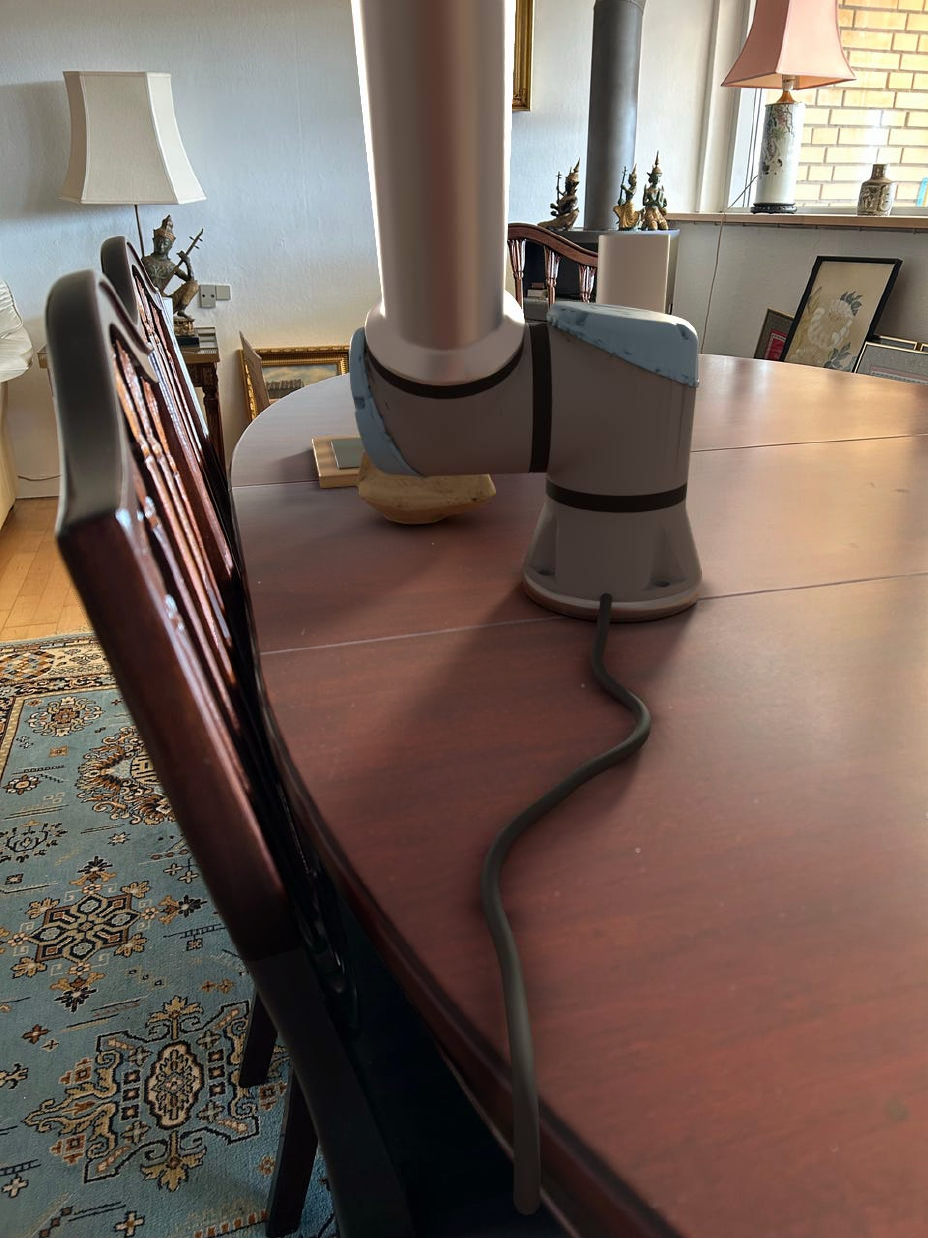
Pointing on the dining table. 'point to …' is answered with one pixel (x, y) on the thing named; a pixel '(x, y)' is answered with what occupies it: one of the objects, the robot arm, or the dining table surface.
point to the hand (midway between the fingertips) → (451, 300)
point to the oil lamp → (421, 494)
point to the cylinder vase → (633, 271)
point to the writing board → (338, 460)
